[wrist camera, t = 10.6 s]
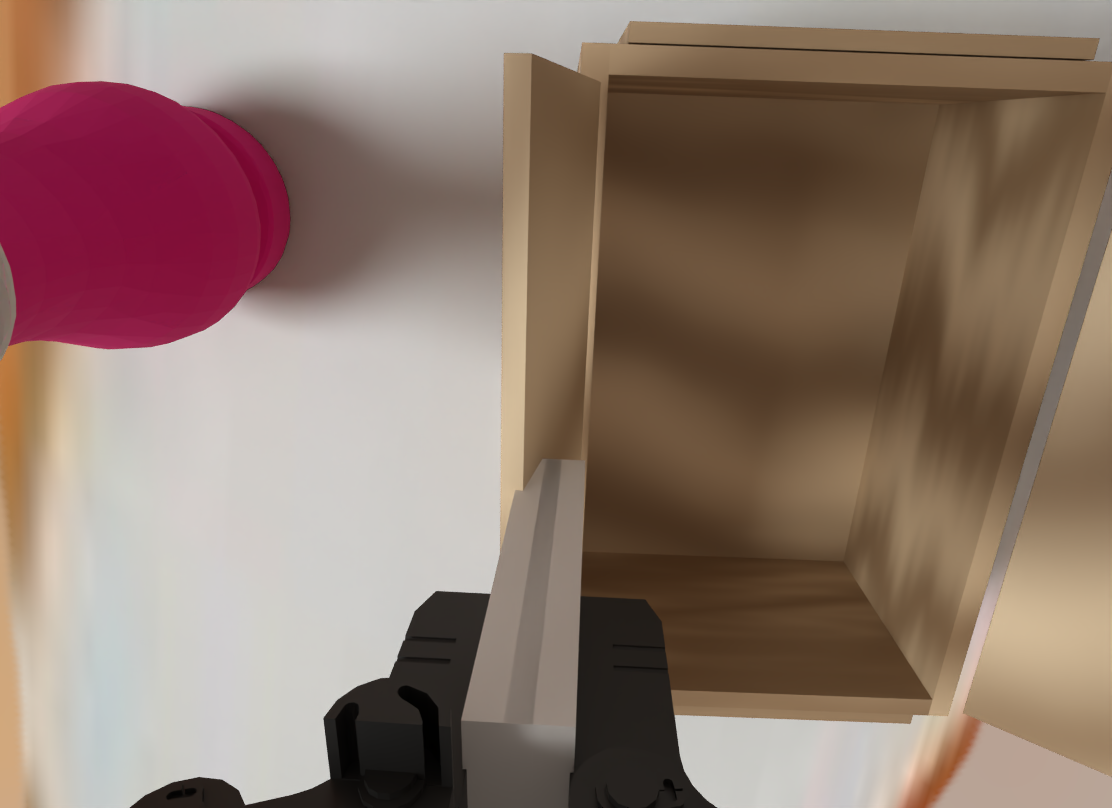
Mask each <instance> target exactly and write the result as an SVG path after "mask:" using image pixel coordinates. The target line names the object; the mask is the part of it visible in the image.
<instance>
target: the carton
mask: <svg viewBox="0 0 1112 808" xmlns="http://www.w3.org/2000/svg"><path fill="white" fill-rule="evenodd" d="M1098 43H1099V38H1072V37H1045V36H1018V35H990V34H963V33H936V32H909V31H881V30H854V29H827V28H800V27H772V26H745V25H718V24H691V23H664V22H636V21H630V22H629V24H628V26H627V28H626V29H625V31H624V33H623V35H622V36H621V38H620V40H619V42H618V43H617V44H608V43H582V48H581V53H580V59H579V65H578V70H577V72H578V73H580V74H583V75H585V76H587V77H590V78H592V79H595V80H597V81H600V82H601V88H600V108H599V127H598V146H597V165H596V184H595V204H594V223H593V242H592V261H591V280H590V300H589V319H588V338H587V357H586V377H585V396H584V415H583V434H582V453H581V460H585V483H584V511H583V539H582V567H581V595H580V596H588V597H608V598H628V599H645V600H646V601H647V602H648V604H649V605H650V606H651V608H652V609H653V611H654V612H655V613H656V615H657V616H658V617H659V619H660V620H661V621H662V627H663V634H664V642H665V652H666V657H667V664H668V674H669V679H670V687H671V694H672V701H673V709H674V715H693V716H720V717H746V718H773V719H800V720H826V721H853V722H879V723H906V724H911V720H912V716H913V715H933V716H948V714H949V711H950V707H951V704H952V701H953V697H954V694H955V691H956V687H957V684H958V681H959V677H960V674H961V671H962V667H963V664H964V661H965V657H966V654H967V651H968V647H969V644H970V641H971V637H972V634H973V630H974V627H975V624H976V620H977V617H978V614H979V610H980V607H981V604H982V600H983V597H984V594H985V590H986V587H987V584H988V580H989V577H990V574H991V570H992V567H993V564H994V560H995V557H996V554H997V550H998V547H999V544H1000V540H1001V537H1002V534H1003V530H1004V527H1005V523H1006V520H1007V517H1008V513H1009V510H1010V507H1011V503H1012V500H1013V497H1014V493H1015V490H1016V487H1017V483H1018V480H1019V477H1020V473H1021V470H1022V467H1023V463H1024V460H1025V457H1026V453H1027V450H1028V447H1029V443H1030V440H1031V437H1032V433H1033V430H1034V427H1035V423H1036V420H1037V416H1038V413H1039V410H1040V406H1041V403H1042V400H1043V396H1044V393H1045V390H1046V386H1047V383H1048V380H1049V376H1050V373H1051V370H1052V366H1053V363H1054V360H1055V356H1056V353H1057V350H1058V346H1059V343H1060V340H1061V336H1062V333H1063V330H1064V326H1065V323H1066V320H1067V316H1068V313H1069V309H1070V306H1071V303H1072V299H1073V296H1074V293H1075V289H1076V286H1077V283H1078V279H1079V276H1080V273H1081V269H1082V266H1083V263H1084V259H1085V256H1086V253H1087V249H1088V246H1089V243H1090V239H1091V236H1092V233H1093V229H1094V226H1095V223H1096V219H1097V216H1098V213H1099V209H1100V206H1101V202H1102V199H1103V196H1104V192H1105V189H1106V186H1107V182H1108V179H1109V176H1110V172H1111V169H1112V62H1098V61H1085V60H1092V59H1094V57H1095V53H1096V50H1097V46H1098Z"/></svg>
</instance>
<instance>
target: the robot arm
mask: <svg viewBox="0 0 1112 808" xmlns="http://www.w3.org/2000/svg"><path fill="white" fill-rule="evenodd" d="M584 483H585V460H562V459H542V460H541V462H540V464H539V465H538V467H537V469H536V470H535V472H534V474H533V475H532V477H531V479H530V480H529V482H528V483H527V485H526V487H525V488H524V490H523V491H519V490H515V492H514V497H513V501H512V505H511V509H510V514H509V518H508V522H507V527H506V531H505V535H504V539H503V544H502V548H501V552H500V556H499V561H498V565H497V569H496V573H495V578H494V582H493V586H492V590H491V594H482V593H462V592H443V591H436V592H435V593H434V594H433V595H432V596H431V597H430V598H428V599H427V600H426V601H425V602H424V603H423V604H422V605H421V606H420V607H419V608H418V609H417V610H416V611H415V612H414V615H413V618H412V620H411V623H410V625H409V628H408V631H407V633H406V636H405V641H403V643H402V646H401V649H400V651H399V654H398V659H397V661H396V662H395V664H394V667H393V669H392V672H391V675H390V677H389V678H380V679H377V680H374V681H371V682H369V683H366V684H363V685H360V686H357V687H356V688H354V689H353V690H351V691H350V692H348V693H347V694H345V695H344V696H342V697H341V698H340V699H338V700H337V701H336V702H335V704H334V705H333V706H332V708H331V709H330V710H329V712H328V713H327V714H326V715H325V717H324V718H323V719H324V727H325V735H326V744H327V752H328V760H329V769H330V777H331V779H330V780H328V781H326V782H324V783H322V784H320V785H318V786H316V787H314V788H312V789H309V790H306V791H303V792H300V793H297V794H293V795H289V796H285V797H280V798H276V799H271V800H267V801H262V802H258V803H253V804H249V805H245V804H244V801H243V799H242V797H241V795H240V792H239V790H237V789H236V788H234V787H233V786H231V785H230V784H228V783H226V782H225V781H223V780H220V779H211V778H202V777H198V778H193V779H188V780H183V781H178V782H173V783H170V784H168V785H166V786H164V787H162V788H160V789H158V790H156V791H154V792H151V793H149V794H147V795H145V796H144V797H143V798H141V799H140V800H139V801H137V802H136V803H135V804H134V805H132V806H131V807H130V808H717V807H715V806H714V805H713V804H711V803H710V802H708V801H707V800H706V799H705V798H704V797H703V796H702V795H701V794H700V793H699V792H698V791H697V790H696V789H695V788H694V786H693V785H692V784H691V782H690V780H689V778H688V777H687V775H686V773H685V772H684V769H683V765H682V762H681V758H680V754H679V746H678V739H677V731H676V724H675V716H674V709H673V701H672V694H671V687H670V679H669V674H668V664H667V657H666V652H665V642H664V634H663V627H662V621H661V620H660V619H659V617H658V616H657V615H656V613H655V612H654V611H653V609H652V608H651V606H650V605H649V604H648V602H647V601H646V600H645V599H628V598H608V597H588V596H580V595H581V567H582V539H583V511H584Z"/></svg>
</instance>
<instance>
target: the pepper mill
mask: <svg viewBox="0 0 1112 808" xmlns="http://www.w3.org/2000/svg"><path fill="white" fill-rule="evenodd" d="M289 230H290V210H289V200H288V195H287V192H286V188H285V185H284V182H283V179H282V177H281V175H280V173H279V171H278V169H277V167H276V165H275V163H274V162H273V160H272V159H271V157H270V156H269V154H268V153H267V152H266V150H265V149H264V148H263V147H262V145H261V144H260V143H259V142H258V141H257V140H256V139H255V138H254V137H253V136H252V135H251V134H250V133H248V132H247V131H245V130H244V129H243V128H241V127H240V126H238V125H237V124H236V123H234V122H233V121H231V120H229V119H227V118H225V117H223V116H221V115H219V114H217V113H214V112H211V111H208V110H204V109H200V108H195V107H186V106H182V105H180V104H179V103H177V102H175V101H173V100H171V99H169V98H167V97H165V96H162V95H160V94H158V93H156V92H153V91H149V90H146V89H143V88H139V87H136V86H133V85H129V84H122V83H113V82H103V81H98V82H75V83H67V84H60V85H52V86H49V87H46V88H44V89H41V90H38V91H36V92H33V93H30V94H28V95H25V96H23V97H21V98H19V99H17V100H15V101H13V102H11V103H9V104H7V105H5V106H3V107H1V108H0V361H1V359H2V358H3V356H4V354H5V352H6V349H7V347H8V346H10V345H14V344H17V343H21V342H24V341H38V340H42V341H56V342H62V343H69V344H75V345H81V346H87V347H93V348H102V349H124V348H142V347H153V346H158V345H163V344H167V343H171V342H173V341H176V340H179V339H182V338H184V337H187V336H190V335H193V334H195V333H198V332H200V331H203V330H205V329H207V328H208V327H210V326H212V325H213V324H215V323H216V322H218V321H219V320H220V319H222V318H223V317H224V316H225V315H226V314H227V313H228V312H229V311H230V310H232V309H233V308H234V306H235V305H236V304H237V303H238V301H239V300H240V299H241V297H242V296H243V295H244V293H245V292H246V290H248V289H249V288H251V287H253V286H255V285H256V284H257V283H259V282H260V281H261V280H263V279H264V278H265V277H266V276H267V275H268V274H269V273H270V272H271V271H272V270H273V269H274V268H275V266H276V265H277V263H278V262H279V260H280V258H281V256H282V254H283V252H284V249H285V246H286V243H287V239H288V236H289Z"/></svg>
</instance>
